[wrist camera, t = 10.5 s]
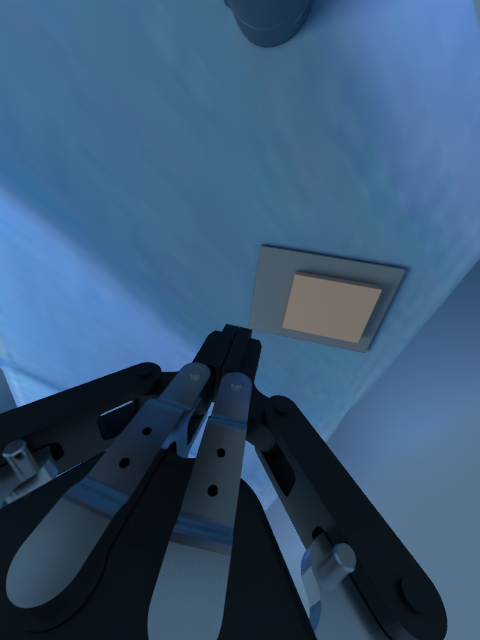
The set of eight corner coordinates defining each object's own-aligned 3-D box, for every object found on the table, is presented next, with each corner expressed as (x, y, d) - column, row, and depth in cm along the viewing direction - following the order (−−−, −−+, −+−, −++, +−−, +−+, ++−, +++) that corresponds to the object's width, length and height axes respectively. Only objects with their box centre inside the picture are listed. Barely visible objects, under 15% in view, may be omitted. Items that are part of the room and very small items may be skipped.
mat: (249, 326, 47) (248, 328, 47) (261, 244, 39) (260, 245, 38) (364, 350, 44) (365, 353, 44) (404, 268, 36) (406, 269, 35)
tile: (282, 327, 43) (357, 343, 41) (295, 274, 37) (382, 289, 36) (283, 322, 44) (355, 336, 43) (295, 270, 39) (378, 285, 37)
